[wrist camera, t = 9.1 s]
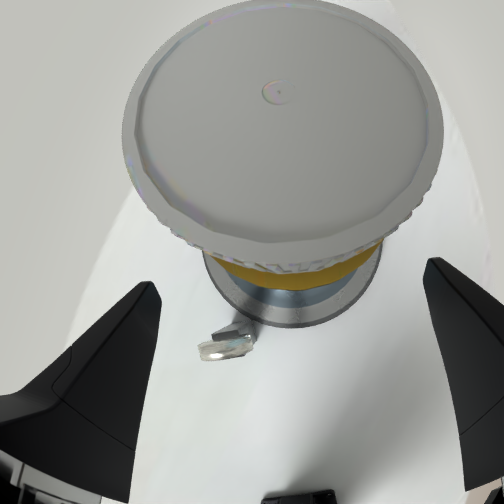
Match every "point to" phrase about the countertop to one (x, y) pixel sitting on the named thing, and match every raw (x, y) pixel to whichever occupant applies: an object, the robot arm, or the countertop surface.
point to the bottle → (283, 139)
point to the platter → (292, 294)
